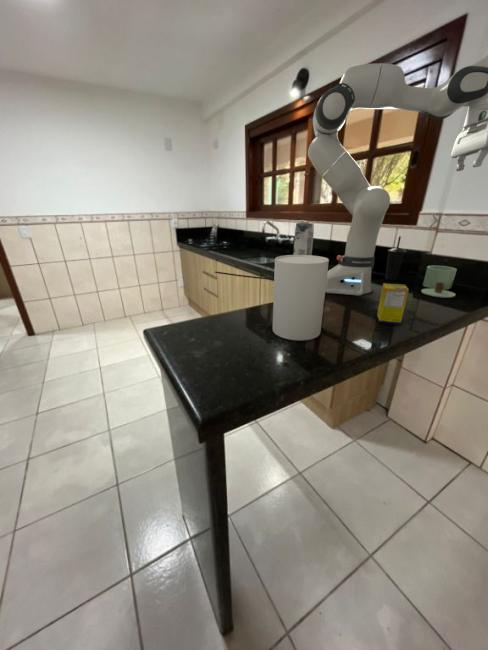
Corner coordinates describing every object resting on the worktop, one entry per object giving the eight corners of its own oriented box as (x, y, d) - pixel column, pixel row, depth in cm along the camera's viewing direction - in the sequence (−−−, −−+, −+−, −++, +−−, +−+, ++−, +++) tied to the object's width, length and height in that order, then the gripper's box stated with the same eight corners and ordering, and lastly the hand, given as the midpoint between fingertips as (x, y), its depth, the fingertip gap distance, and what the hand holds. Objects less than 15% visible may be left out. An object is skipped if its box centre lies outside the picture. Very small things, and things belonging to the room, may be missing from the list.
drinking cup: (402, 280, 126) (413, 237, 118) (386, 280, 126) (396, 237, 118) (394, 277, 133) (403, 235, 125) (379, 277, 133) (387, 235, 125)
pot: (428, 290, 111) (434, 270, 107) (418, 284, 120) (423, 265, 116) (455, 291, 109) (462, 270, 106) (442, 284, 118) (448, 265, 115)
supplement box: (396, 318, 82) (405, 284, 78) (400, 325, 77) (409, 289, 73) (376, 316, 84) (382, 282, 80) (378, 323, 79) (385, 287, 75)
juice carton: (310, 270, 149) (315, 219, 138) (308, 274, 140) (312, 220, 129) (295, 269, 152) (298, 219, 141) (291, 273, 143) (294, 220, 132)
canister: (262, 328, 76) (264, 258, 68) (294, 317, 84) (299, 253, 76) (297, 345, 66) (304, 266, 59) (330, 331, 74) (340, 259, 66)
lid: (428, 298, 100) (432, 285, 98) (415, 290, 110) (419, 278, 108) (461, 299, 98) (465, 286, 96) (445, 291, 109) (449, 279, 107)
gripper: (452, 129, 94) (441, 173, 100) (493, 109, 76) (476, 164, 81) (472, 128, 94) (459, 172, 99) (517, 107, 75) (499, 163, 81)
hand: (467, 168), depth 90 cm, fingers open, 8 cm apart
